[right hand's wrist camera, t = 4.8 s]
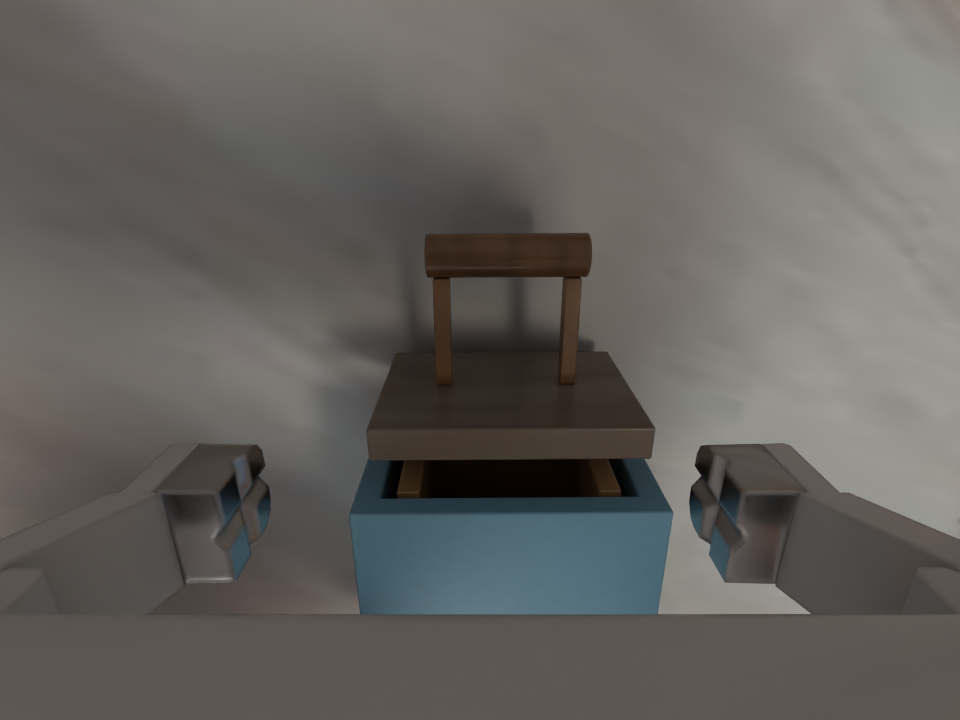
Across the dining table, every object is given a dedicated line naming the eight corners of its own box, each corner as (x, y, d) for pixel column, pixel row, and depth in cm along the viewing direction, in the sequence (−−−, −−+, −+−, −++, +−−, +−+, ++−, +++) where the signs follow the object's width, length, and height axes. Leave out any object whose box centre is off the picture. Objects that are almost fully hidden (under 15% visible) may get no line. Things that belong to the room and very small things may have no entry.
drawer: (387, 221, 22) (349, 254, 15) (619, 220, 22) (679, 252, 15) (409, 561, 28) (389, 685, 22) (588, 559, 28) (622, 683, 22)
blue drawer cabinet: (389, 396, 26) (347, 514, 18) (611, 394, 26) (674, 512, 18) (404, 602, 31) (377, 771, 22) (591, 600, 31) (634, 769, 22)
